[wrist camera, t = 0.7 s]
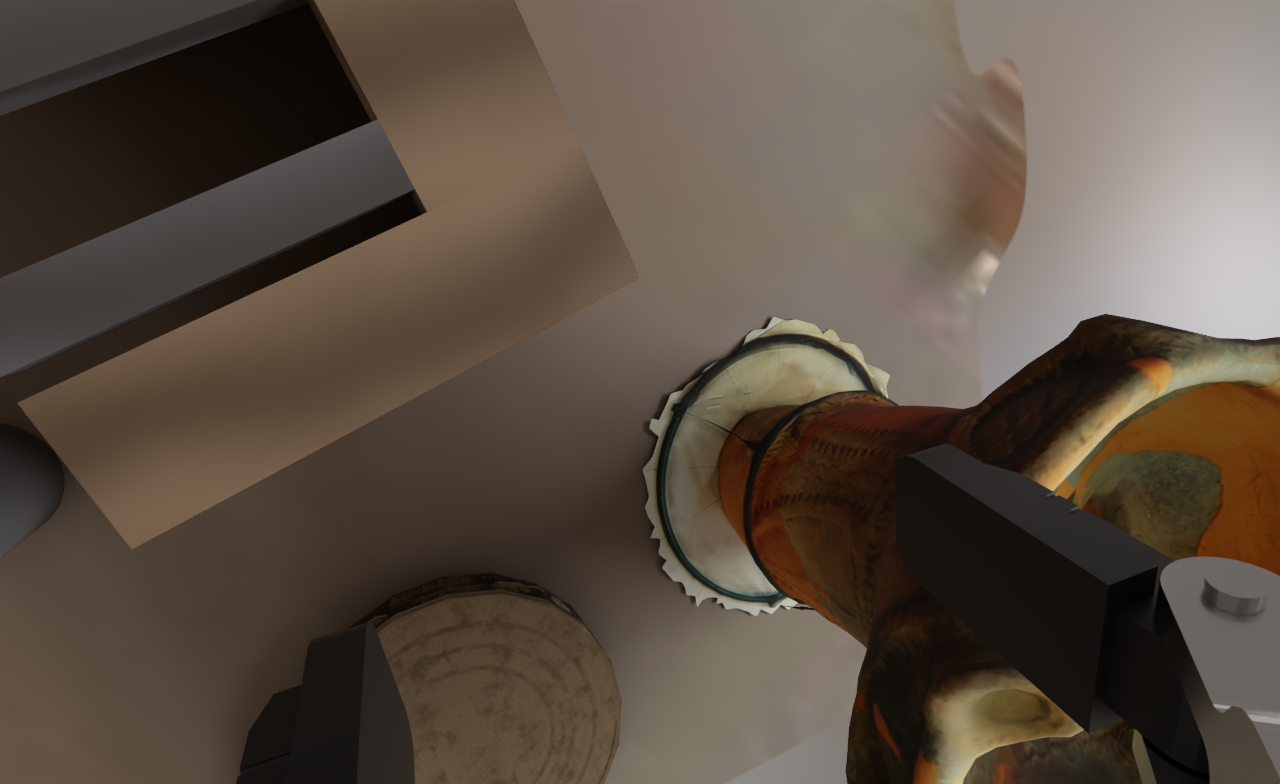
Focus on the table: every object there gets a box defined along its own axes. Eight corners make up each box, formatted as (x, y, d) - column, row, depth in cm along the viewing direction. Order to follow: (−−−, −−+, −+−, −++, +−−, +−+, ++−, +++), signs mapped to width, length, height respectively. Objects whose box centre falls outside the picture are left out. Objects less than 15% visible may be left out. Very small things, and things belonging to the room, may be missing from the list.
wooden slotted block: (-68, 26, 26) (-465, -214, 14) (343, -109, 31) (338, -390, 18) (220, 440, 32) (131, 549, 19) (536, 278, 36) (639, 277, 23)
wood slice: (230, 681, 34) (219, 716, 31) (535, 515, 38) (549, 534, 35) (388, 912, 38) (391, 961, 35) (644, 741, 43) (664, 773, 40)
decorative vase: (513, 446, 36) (977, 790, 11) (837, 229, 43) (1590, 133, 18) (691, 729, 43) (1237, 1349, 18) (948, 502, 50) (1612, 717, 24)
